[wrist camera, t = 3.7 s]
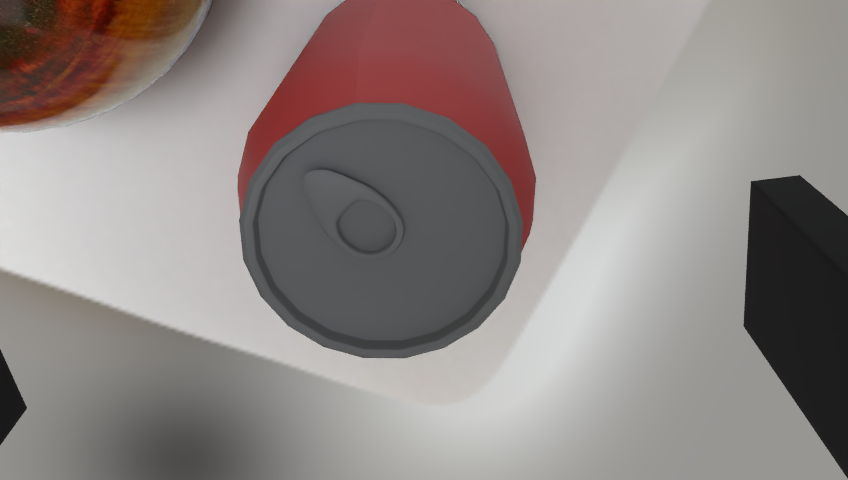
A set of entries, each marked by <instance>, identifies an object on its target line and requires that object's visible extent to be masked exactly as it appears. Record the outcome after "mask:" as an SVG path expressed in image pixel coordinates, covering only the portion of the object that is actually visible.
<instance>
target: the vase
mask: <svg viewBox="0 0 848 480" xmlns="http://www.w3.org/2000/svg"><path fill="white" fill-rule="evenodd" d="M212 3H213V0H0V132H31V131H39V130H45V129H51V128H57V127H63V126H68V125H72V124H75V123H78V122H81V121H84V120H87V119H90V118H93V117H96V116H99V115H102V114H105V113H107V112H109V111H111V110H113V109H115V108H116V107H118V106H120V105H122V104H124V103H125V102H127V101H129V100H131V99H133V98H134V97H136V96H138V95H139V94H141V93H142V92H143V91H145V90H146V89H147V88H148V87H149V86H151V85H152V84H153V83H154V82H155V81H157V80H158V79H159V78H160V77H162V76H163V75H164V74H165V73H166V72H168V70H169V69H170V68H171V67H172V66H173V65H174V63H175V62H176V61H177V60H178V59H179V58H180V56H181V55H182V54H183V53H184V52H185V50H186V49H187V48H188V47H189V46H190V45H191V43H192V41H193V40H194V38H195V36H196V34H197V33H198V31H199V29H200V28H201V26H202V24H203V22H204V21H205V19H206V17H207V15H208V14H209V11H210V8H211V6H212Z"/></svg>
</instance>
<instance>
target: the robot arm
mask: <svg viewBox="0 0 848 480" xmlns="http://www.w3.org/2000/svg"><path fill="white" fill-rule="evenodd" d="M746 271H747V272H746V290H745V291H746V292H745V311H744V327H745V329H746V330H747V332H748V333H749V334H750V336H751V338H752V339H753V340H754V342H755V343H756V345H757V346H758V348H759V349H760V350H761V352H762V354H763V355H764V357H765V358H766V360H767V361H768V362H769V364H770V365H771V367H772V368H773V370H774V371H775V373H776V374H777V376H778V377H779V379H780V380H781V381H782V383H783V384H784V386H785V387H786V389H787V390H788V392H789V393H790V394H791V396H792V398H793V399H794V400H795V402H796V403H797V405H798V406H799V408H800V409H801V411H802V412H803V413H804V415H805V417H806V418H807V419H808V421H809V422H810V424H811V425H812V427H813V428H814V430H815V431H816V433H817V434H818V436H819V437H820V439H821V440H822V441H823V443H824V444H825V446H826V447H827V449H828V450H829V452H830V453H831V455H832V456H833V458H834V459H835V461H836V462H837V463H838V465H839V466H840V468H841V469H842V470H843V472H844V474H845V475H846V476H847V478H848V216H847V215H846V214H845V213H844V212H843V211H841V210H840V209H839V208H838V207H837V206H836V205H834V204H833V203H832V202H831V201H829V200H828V199H827V198H826V197H825V196H824V195H823V194H821V193H820V192H819V191H818V190H816V189H815V188H814V187H813V186H812V185H811V184H809V183H808V182H807V181H806V180H805V179H803V178H802V177H801V176H800V175H799V176H790V177H782V178H775V179H767V180H759V181H751V192H750V212H749V231H748V251H747V270H746ZM26 408H27V407H26V405H25V403H24V401H23V398H22V397H21V394H20V392H19V390H18V387H17V385H16V383H15V381H14V379H13V376H12V374H11V372H10V370H9V368H8V365H7V363H6V361H5V359H4V357H3V354H2V353H1V350H0V445H1V443H2V442H3V441H4V439H5V438H6V436H7V435H8V434H9V432H10V431H11V430H12V428H13V427H14V425H15V424H16V422H17V421H18V420H19V418H20V417H21V416H22V414H23V413H24V411H25V410H26Z"/></svg>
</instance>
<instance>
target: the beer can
mask: <svg viewBox="0 0 848 480" xmlns="http://www.w3.org/2000/svg"><path fill="white" fill-rule="evenodd" d="M535 183H536V177H535V173H534V169H533V166H532V162H531V158H530V155H529V151H528V147H527V143H526V140H525V136H524V133H523V130H522V127H521V124H520V121H519V118H518V115H517V112H516V109H515V106H514V103H513V100H512V97H511V94H510V91H509V88H508V85H507V82H506V79H505V76H504V73H503V70H502V67H501V64H500V61H499V58H498V55H497V52H496V49H495V46H494V43H493V42H492V40H491V39H490V37H489V36H488V34H487V33H486V31H485V30H484V28H483V27H482V26H481V24H480V23H479V21H478V20H477V18H476V17H475V16H474V15H473V14H472V13H470V12H469V11H468V10H467V9H465V8H464V7H463V6H461V5H460V4H459V3H457V2H456V1H455V0H346V1H344V2H343V3H342V4H340V5H339V6H338V7H336V8H335V9H334V10H332V11H331V12H330V13H329V14H327V15H326V17H325V18H324V20H323V21H322V23H321V24H320V26H319V27H318V29H317V30H316V32H315V33H314V35H313V36H312V38H311V39H310V41H309V42H308V44H307V45H306V46H305V48H304V49H303V51H302V52H301V54H300V55H299V57H298V58H297V60H296V61H295V63H294V64H293V66H292V67H291V69H290V70H289V72H288V73H287V75H286V76H285V78H284V79H283V81H282V82H281V84H280V85H279V87H278V88H277V90H276V91H275V93H274V94H273V96H272V97H271V99H270V100H269V102H268V103H267V105H266V106H265V108H264V109H263V111H262V112H261V114H260V115H259V117H258V118H257V120H256V121H255V123H254V124H253V126H252V127H251V129H250V131H249V132H248V136H247V140H246V144H245V148H244V152H243V156H242V161H241V165H240V169H239V173H238V196H239V205H240V219H239V222H240V232H241V241H242V250H243V259H244V262H245V264H246V266H247V268H248V270H249V272H250V275H251V277H252V279H253V281H254V283H255V285H256V287H257V289H258V291H259V294H260V296H261V297H262V298H263V299H264V300H265V301H266V302H267V303H268V304H269V306H270V307H271V308H272V309H273V310H274V311H275V312H276V313H277V314H278V315H279V316H280V317H281V318H282V320H283V321H284V322H285V323H286V324H287V325H288V326H290V327H291V328H293V329H295V330H296V331H298V332H300V333H301V334H303V335H305V336H306V337H308V338H310V339H311V340H313V341H315V342H316V343H318V344H320V345H321V346H323V347H326V348H330V349H333V350H337V351H341V352H344V353H348V354H351V355H355V356H359V357H362V358H407V357H411V356H415V355H419V354H422V353H426V352H430V351H434V350H438V349H442V348H444V347H446V346H448V345H450V344H451V343H453V342H455V341H456V340H458V339H460V338H461V337H463V336H465V335H467V334H468V333H470V332H472V331H473V330H475V329H477V328H478V327H479V326H480V325H481V324H482V323H483V322H484V321H485V320H486V318H487V317H488V316H489V315H490V314H491V313H492V312H493V311H494V310H495V309H496V307H497V306H498V305H499V304H500V303H501V302H502V301H503V300H504V299H505V297H506V294H507V292H508V290H509V287H510V285H511V283H512V281H513V278H514V276H515V274H516V271H517V269H518V267H519V265H520V261H521V252H522V250H523V247H524V245H525V243H526V241H527V238H528V236H529V234H530V230H531V226H532V221H533V209H534V196H535Z"/></svg>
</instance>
